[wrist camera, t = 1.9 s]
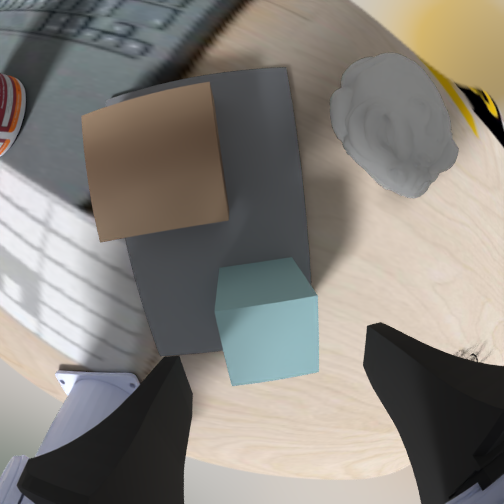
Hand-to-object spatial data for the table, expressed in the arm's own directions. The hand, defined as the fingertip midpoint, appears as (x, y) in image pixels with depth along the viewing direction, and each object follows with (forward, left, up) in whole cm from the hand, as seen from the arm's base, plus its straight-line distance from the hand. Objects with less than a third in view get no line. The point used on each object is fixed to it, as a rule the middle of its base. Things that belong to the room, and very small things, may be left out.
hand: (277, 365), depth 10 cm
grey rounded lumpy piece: (+9, -7, -7) cm, 13 cm away
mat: (+4, +2, -7) cm, 8 cm away
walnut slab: (+8, +4, -6) cm, 11 cm away
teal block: (0, 0, -6) cm, 6 cm away
